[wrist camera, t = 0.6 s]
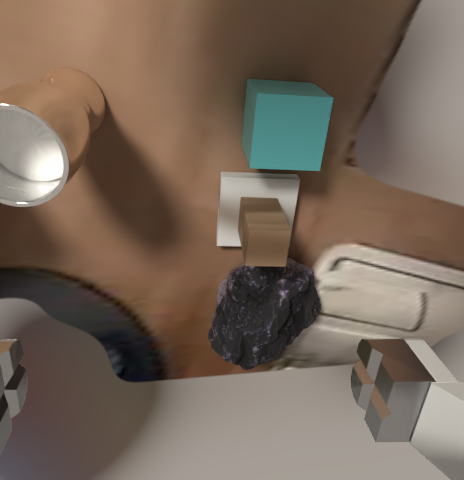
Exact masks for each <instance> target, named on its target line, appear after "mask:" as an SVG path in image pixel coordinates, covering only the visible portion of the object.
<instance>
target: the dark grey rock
mask: <svg viewBox="0 0 464 480" xmlns="http://www.w3.org/2000/svg"><path fill="white" fill-rule="evenodd" d="M313 282H314V276H313V269H312V268H308V267H306V266H305V265H303V264H300V263H298V262H296V261H294V260H293V259H291V258H287V261H286V267H278V266H245V262H244V263H243V264H241V265H239V266H237V267H236V268H235V269H233V270H232V271H231V272H230V273H229V275H228V278H226V279H225V280H223V281H222V282H221V283H220V284H219V287H218V292H217V304H216V310H215V313H214V316H213V319H212V325H213V326H212V328H211V329H210V331H209V333H208V338H209V340H210V341H211V347H212V348H213V349H214V351H215V352H216V353H218V354H219V355H220V356H221V357H222V358H223V359H224V360H225V361H226V362H232V363H233V364H236V365H240V366H241V367H242V368H243V369H245V370H249V369H252V368H254V367H255V366H257V365H259V364H262V363H266V362H269V361H271V360H273V359H275V358H277V357H279V355H280V353H281V352H282V350H283V349H284V348H285V347H286V346H288V345H289V344H291V343H292V342H293V340H294V339H295V338H296V337H297V336H298V335H299V334H300V332H301V331H302V330H303V329H305V328H307V327H309V326H310V325H311V324H312V323H313V322H314V321H315V319H316V317H317V316H318V314H319V312H320V310H321V306H320V305H321V304H320V299H319V298H318V295H317V291H316V289H315V288H314V283H313Z"/></svg>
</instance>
